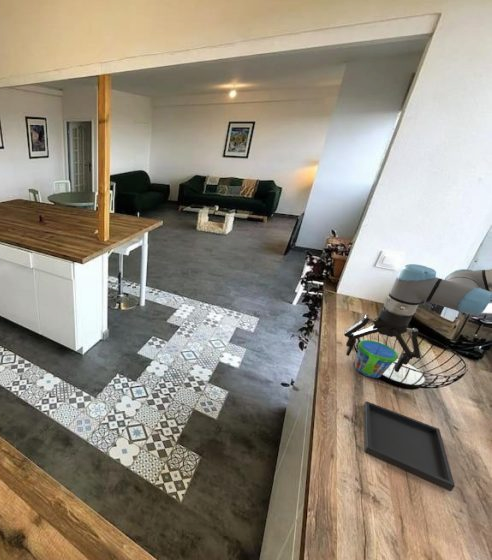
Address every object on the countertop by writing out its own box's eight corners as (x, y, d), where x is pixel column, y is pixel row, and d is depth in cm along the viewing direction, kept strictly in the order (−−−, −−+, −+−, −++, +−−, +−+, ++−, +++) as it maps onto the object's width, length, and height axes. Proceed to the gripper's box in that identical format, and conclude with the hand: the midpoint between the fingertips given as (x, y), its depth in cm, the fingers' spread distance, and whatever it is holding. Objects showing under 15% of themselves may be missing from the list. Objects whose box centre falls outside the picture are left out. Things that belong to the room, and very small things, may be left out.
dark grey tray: (435, 433, 88) (439, 428, 88) (450, 491, 74) (455, 486, 73) (363, 405, 97) (365, 400, 96) (364, 452, 83) (367, 447, 82)
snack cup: (357, 355, 119) (367, 333, 115) (392, 370, 112) (404, 348, 107) (341, 371, 111) (351, 349, 106) (377, 389, 103) (390, 366, 99)
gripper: (350, 303, 104) (328, 352, 113) (454, 330, 91) (419, 383, 100) (350, 294, 109) (329, 342, 119) (448, 318, 96) (416, 370, 105)
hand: (371, 361), depth 109 cm, fingers open, 13 cm apart
